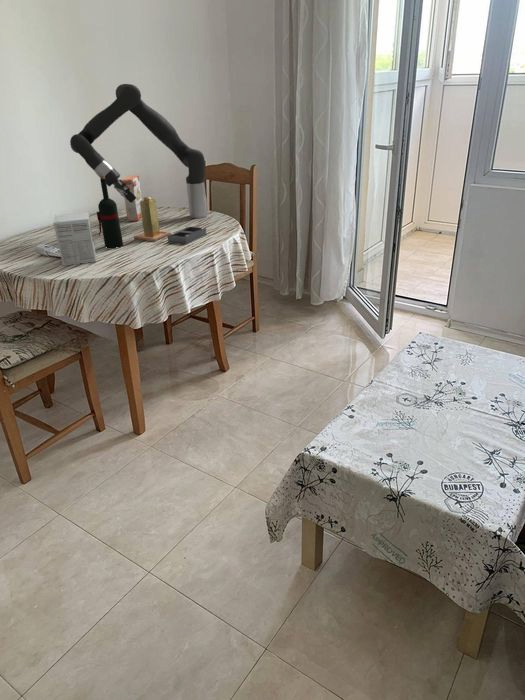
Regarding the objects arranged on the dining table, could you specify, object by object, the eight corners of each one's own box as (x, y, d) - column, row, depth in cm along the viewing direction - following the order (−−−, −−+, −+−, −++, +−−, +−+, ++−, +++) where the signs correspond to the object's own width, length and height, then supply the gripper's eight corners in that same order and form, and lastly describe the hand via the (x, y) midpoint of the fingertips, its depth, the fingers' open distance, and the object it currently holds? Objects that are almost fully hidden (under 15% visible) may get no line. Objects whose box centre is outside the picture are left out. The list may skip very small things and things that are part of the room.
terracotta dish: (149, 232, 248) (149, 229, 248) (170, 234, 244) (170, 232, 243) (134, 239, 239) (133, 236, 238) (155, 241, 234) (155, 238, 234)
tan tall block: (151, 233, 244) (146, 196, 236) (159, 234, 242) (155, 196, 234) (144, 236, 240) (139, 198, 232) (153, 237, 238) (148, 199, 230)
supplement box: (96, 262, 211) (88, 219, 202) (62, 266, 208) (52, 222, 199) (96, 253, 222) (88, 211, 214) (63, 256, 219) (54, 215, 211)
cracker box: (138, 221, 269) (132, 179, 260) (127, 221, 270) (120, 179, 260) (144, 215, 282) (139, 174, 272) (133, 215, 282) (127, 175, 272)
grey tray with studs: (188, 232, 246) (188, 225, 244) (206, 234, 242) (205, 227, 241) (168, 242, 233) (167, 234, 231) (186, 244, 229) (185, 236, 227)
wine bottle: (104, 243, 235) (91, 174, 221) (125, 243, 233) (114, 173, 220) (97, 248, 228) (84, 177, 214) (119, 248, 227) (108, 177, 213)
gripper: (114, 164, 230) (141, 193, 236) (111, 170, 243) (137, 196, 249) (102, 176, 229) (130, 204, 235) (100, 181, 242) (126, 207, 248)
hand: (133, 200), depth 242 cm, fingers open, 8 cm apart
